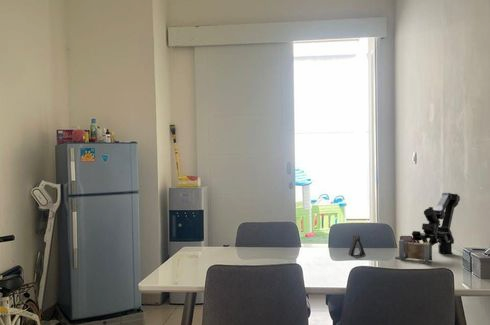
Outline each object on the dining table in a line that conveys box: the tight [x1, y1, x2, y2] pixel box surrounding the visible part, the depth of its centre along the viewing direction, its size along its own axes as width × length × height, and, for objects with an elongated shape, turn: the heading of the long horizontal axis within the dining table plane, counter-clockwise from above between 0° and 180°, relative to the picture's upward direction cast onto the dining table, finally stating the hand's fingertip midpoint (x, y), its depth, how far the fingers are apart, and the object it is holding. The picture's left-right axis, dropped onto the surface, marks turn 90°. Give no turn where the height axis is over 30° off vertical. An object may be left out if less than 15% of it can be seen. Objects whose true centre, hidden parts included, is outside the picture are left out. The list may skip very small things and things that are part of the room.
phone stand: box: [347, 233, 366, 257], centre depth 267 cm, size 9×6×12 cm, turn 89°
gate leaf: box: [405, 242, 433, 261], centre depth 248 cm, size 14×2×9 cm, turn 60°
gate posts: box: [394, 239, 432, 265], centre depth 247 cm, size 20×7×11 cm, turn 45°
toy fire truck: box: [399, 235, 421, 247], centre depth 271 cm, size 7×12×10 cm, turn 84°
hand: (425, 248), depth 247 cm, fingers closed
